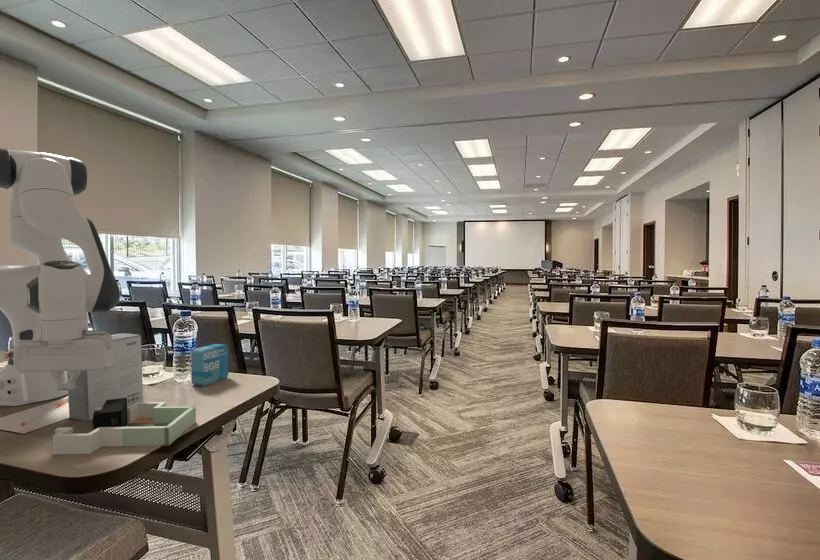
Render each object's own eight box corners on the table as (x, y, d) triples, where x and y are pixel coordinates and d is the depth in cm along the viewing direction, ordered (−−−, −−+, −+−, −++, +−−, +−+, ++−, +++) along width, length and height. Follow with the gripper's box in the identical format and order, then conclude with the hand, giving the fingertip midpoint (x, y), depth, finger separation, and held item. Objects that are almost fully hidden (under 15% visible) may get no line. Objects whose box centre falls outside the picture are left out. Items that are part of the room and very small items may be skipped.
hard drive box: (125, 400, 125) (124, 332, 124) (144, 403, 122) (143, 334, 121) (67, 418, 111) (65, 342, 110) (86, 422, 108) (84, 344, 107)
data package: (201, 387, 138) (201, 350, 138) (191, 385, 140) (190, 349, 139) (228, 377, 150) (228, 343, 149) (218, 376, 151) (218, 342, 150)
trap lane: (43, 454, 90) (42, 436, 90) (106, 417, 111) (106, 402, 111) (161, 452, 92) (160, 434, 92) (201, 416, 113) (201, 401, 113)
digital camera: (101, 428, 105) (100, 400, 105) (127, 424, 107) (126, 397, 107) (92, 444, 96) (92, 413, 95) (121, 440, 98) (121, 410, 98)
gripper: (119, 328, 103) (120, 384, 104) (29, 329, 102) (31, 386, 102) (102, 332, 97) (104, 392, 97) (6, 333, 95) (8, 394, 96)
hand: (66, 389), depth 100 cm, fingers closed
